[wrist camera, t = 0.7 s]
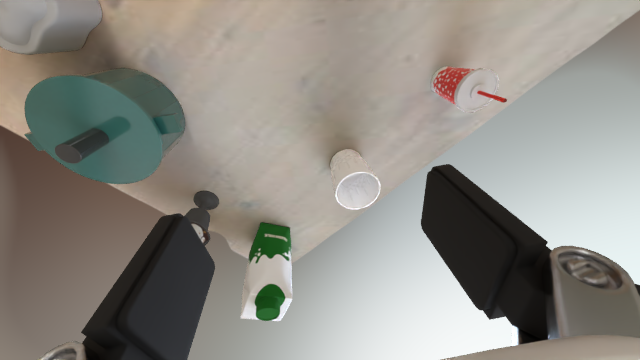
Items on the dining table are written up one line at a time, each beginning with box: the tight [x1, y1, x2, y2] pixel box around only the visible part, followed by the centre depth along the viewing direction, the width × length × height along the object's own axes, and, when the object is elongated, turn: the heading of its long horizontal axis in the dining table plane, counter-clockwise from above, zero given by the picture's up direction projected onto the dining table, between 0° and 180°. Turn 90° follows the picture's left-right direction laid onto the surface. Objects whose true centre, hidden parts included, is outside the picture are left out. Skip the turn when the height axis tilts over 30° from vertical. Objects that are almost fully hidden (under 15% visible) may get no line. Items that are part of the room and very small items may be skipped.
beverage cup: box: [431, 66, 507, 113], centre depth 35 cm, size 6×6×14 cm
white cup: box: [330, 149, 381, 209], centre depth 44 cm, size 8×8×10 cm
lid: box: [25, 75, 164, 184], centre depth 28 cm, size 15×15×6 cm
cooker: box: [24, 68, 185, 159], centre depth 35 cm, size 14×19×10 cm
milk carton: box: [240, 222, 292, 321], centre depth 48 cm, size 9×9×20 cm
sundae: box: [185, 191, 219, 246], centre depth 43 cm, size 7×7×15 cm
